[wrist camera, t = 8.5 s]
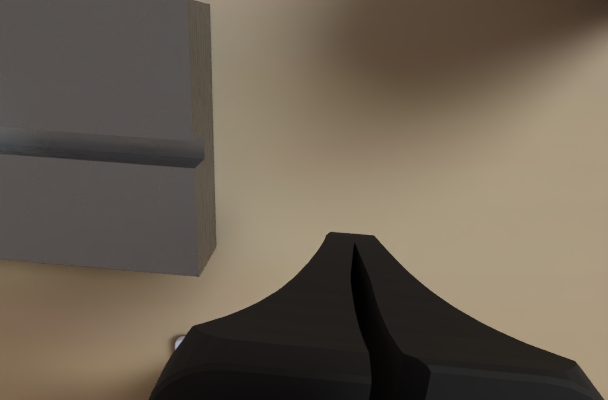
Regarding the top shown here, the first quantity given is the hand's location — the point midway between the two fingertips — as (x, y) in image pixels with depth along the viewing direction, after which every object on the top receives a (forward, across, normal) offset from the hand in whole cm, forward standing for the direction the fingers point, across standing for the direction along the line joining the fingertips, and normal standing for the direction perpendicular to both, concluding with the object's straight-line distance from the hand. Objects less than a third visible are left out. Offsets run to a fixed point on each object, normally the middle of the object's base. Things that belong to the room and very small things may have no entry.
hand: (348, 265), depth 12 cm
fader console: (+9, +16, -1) cm, 19 cm away
